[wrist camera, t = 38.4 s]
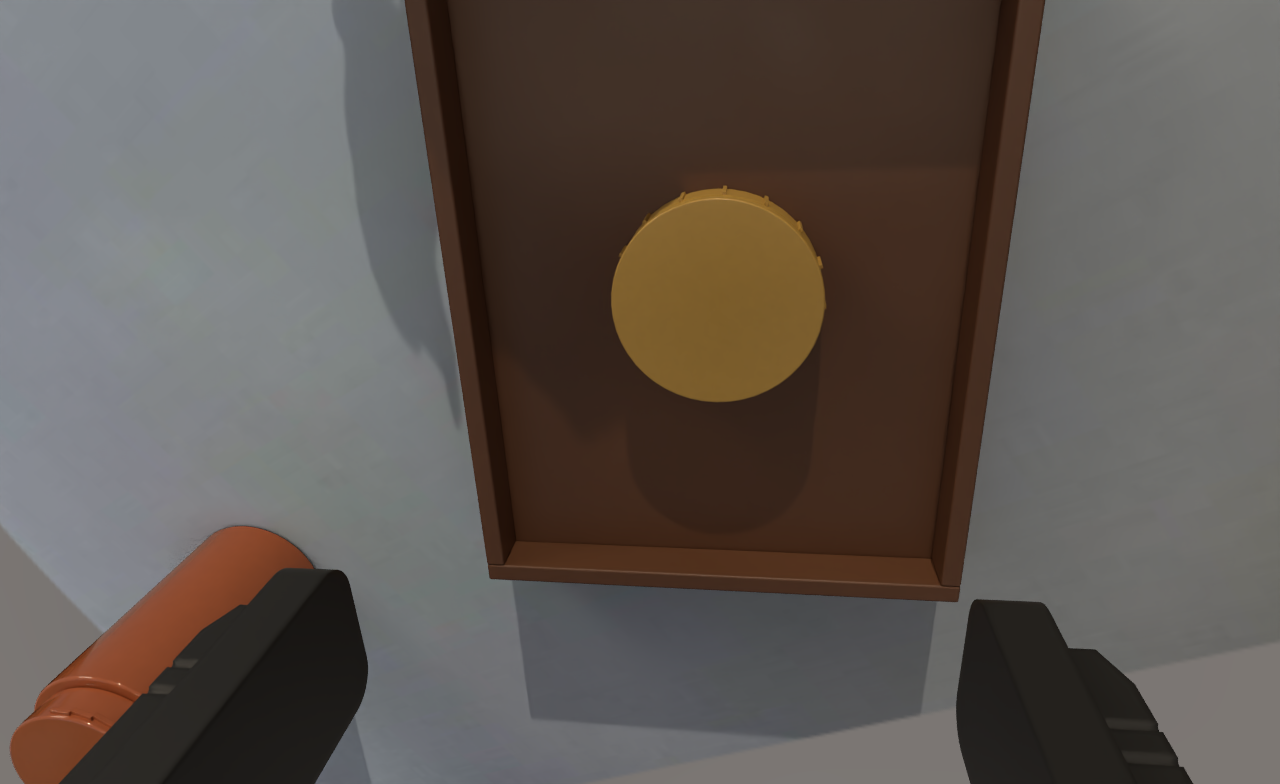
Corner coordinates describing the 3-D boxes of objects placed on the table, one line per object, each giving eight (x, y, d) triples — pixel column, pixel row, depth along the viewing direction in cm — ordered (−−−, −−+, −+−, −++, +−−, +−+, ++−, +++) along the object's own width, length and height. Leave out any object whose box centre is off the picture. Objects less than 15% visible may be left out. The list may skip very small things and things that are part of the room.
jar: (335, 636, 32) (188, 845, 24) (217, 629, 33) (35, 829, 25) (308, 527, 30) (136, 716, 22) (182, 522, 31) (-30, 703, 23)
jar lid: (642, 163, 22) (634, 172, 21) (851, 216, 22) (857, 228, 21) (600, 355, 25) (591, 374, 23) (787, 404, 25) (789, 426, 23)
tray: (943, 559, 27) (958, 603, 25) (508, 540, 29) (489, 579, 27) (1030, -103, 19) (1063, -119, 17) (428, -61, 21) (392, -71, 19)
